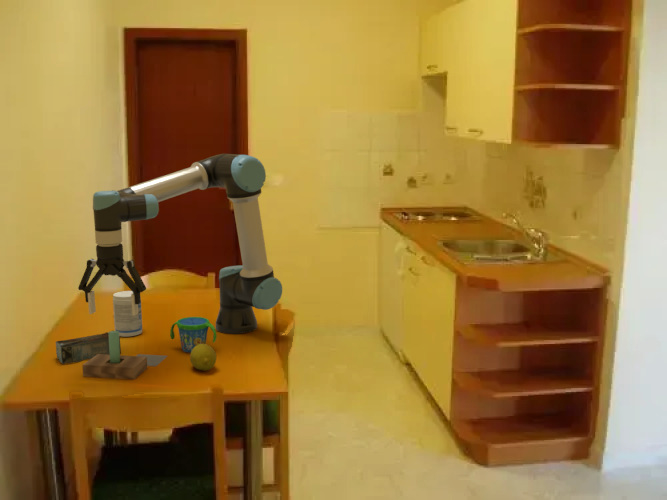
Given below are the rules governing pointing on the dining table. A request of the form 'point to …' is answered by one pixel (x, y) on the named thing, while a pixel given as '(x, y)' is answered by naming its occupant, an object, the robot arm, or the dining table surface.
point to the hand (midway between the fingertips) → (113, 313)
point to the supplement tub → (126, 315)
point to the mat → (153, 359)
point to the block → (115, 367)
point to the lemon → (203, 357)
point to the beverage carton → (82, 348)
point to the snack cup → (192, 332)
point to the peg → (114, 347)
